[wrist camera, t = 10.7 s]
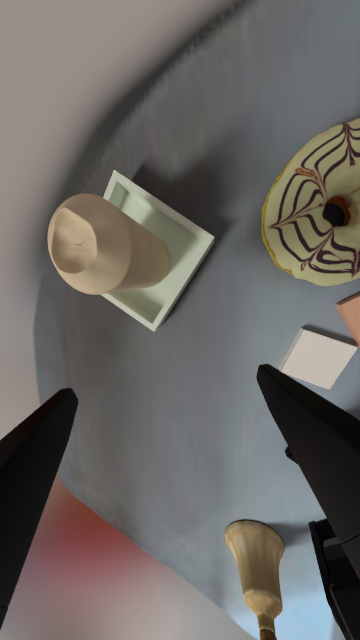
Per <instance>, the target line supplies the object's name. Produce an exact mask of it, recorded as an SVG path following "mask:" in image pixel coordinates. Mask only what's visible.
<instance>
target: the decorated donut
mask: <svg viewBox="0 0 360 640" xmlns="http://www.w3.org/2000/svg"><path fill="white" fill-rule="evenodd" d="M331 202H332V203H335V204H336V205H338V206H339V207H341V208H342V210H343V212H344V215H345V221H344V223H343V225H342V226H341V227H339V226H336V227H333V226H332V225H331V224H330V223H329V222H328V221H327V220H325V219H324V218H323V217H322V213H323V210H324V207H325V204H326V203H329V204H330V203H331ZM261 234H262V239H263V242H264V244H265V246H266V248H267V250H268V252H269V254H270V256H271V258H272V260H273V262H274V264H275V265H276V266H277V267H279V268H280V269H281V270H283V271H286V272H288V273H289V274H291V275H293V276H294V277H295V278H297V279H304V280H307V281H309V282H312V283H314V284H316V285H319V286H333V285H339V284H342V283H345V282H349V281H352V280H355V279H357V278H360V118H357V119H355V120H354V121H350V122H347V123H343V124H339V125H336V126H334V127H331V128H330V129H327V130H326V131H324V132H321V133H319V134H317V135H316V136H315V137H314V138H312V139H311V140H310V141H309V142H308V143H307V144H306V145H305V146H303V147H302V148H301V149H300V150H299V151H298V152H297V153H296V154H295V155H294V156H293V158H292V159H291V160H290V161H289V162H288V163H287V165H286V166H285V168H284V169H283V170H282V172H281V173H280V174H279V176H278V177H277V179H276V180H275V182H274V183H273V185H272V187H271V189H270V191H269V193H268V195H267V196H266V199H265V202H264V205H263V208H262V226H261Z"/></svg>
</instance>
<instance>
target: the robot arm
mask: <svg viewBox="0 0 360 640" xmlns="http://www.w3.org/2000/svg"><path fill="white" fill-rule="evenodd" d="M257 382H258V384H259V386H260V389H261V391H262V394H263V396H264V398H265V401H266V403H267V406H268V408H269V410H270V412H271V414H272V416H273V418H274V420H275V422H276V424H277V426H278V427H279V429H280V431H281V433H282V435H283V437H284V439H285V440H286V442H287V444H288V446H289V447H288V448H287V449H286V450H285V453H286V456H287V457H288V458H289V459H291V460H292V461H294V462H295V463H297V464H298V465H299V467H300V468H301V470H302V472H303V474H304V476H305V478H306V480H307V482H308V483H309V485H310V487H311V489H312V491H313V493H314V495H315V496H316V498H317V500H318V502H319V504H320V506H321V508H322V509H323V511H324V513H325V515H326V517H327V518H326V519H323V520H320V521H317V522H315V521H312V522H309V527H310V531H311V537H312V541H313V545H314V549H315V553H316V557H317V561H318V566H319V570H320V574H321V578H322V582H323V586H324V590H325V594H326V598H327V601H328V604H329V606H330V608H331V610H332V614H333V616H334V619H335V621H336V623H337V624H338V625H339V627H340V629H341V631H342V633H343V635H344V637H345V639H346V640H360V420H358V419H357V418H355V417H354V416H352V415H350V414H349V413H347V412H346V411H344V410H342V409H341V408H339V407H337V406H336V405H334V404H333V403H331V402H329V401H328V400H326V399H324V398H323V397H321V396H320V395H318V394H316V393H315V392H313V391H312V390H310V389H308V388H307V387H305V386H303V385H302V384H300V383H299V382H297V381H295V380H294V379H292V378H290V377H289V376H287V375H286V374H284V373H282V372H281V371H279V370H277V369H276V368H274V367H273V366H271V365H269V364H262V365H259V368H258V372H257ZM77 406H78V398H77V396H76V395H75V393H74V391H73V389H72V388H65V389H61V390H59V391H58V392H57V393H56V394H55V395H53V396H52V397H51V398H50V399H49V400H47V401H46V402H45V403H44V404H43V405H41V406H40V407H39V408H38V409H37V410H36V411H34V412H33V413H32V414H31V415H30V416H28V418H26V419H25V420H24V421H23V422H21V423H20V424H19V425H18V426H17V427H15V428H14V429H13V430H12V431H11V432H10V433H8V434H7V435H6V436H5V437H4V438H3V439H1V440H0V630H1V627H2V624H3V621H4V618H5V616H6V613H7V610H8V605H9V604H10V601H11V599H12V596H13V593H14V590H15V587H16V585H17V582H18V579H19V576H20V574H21V571H22V568H23V565H24V562H25V560H26V557H27V554H28V551H29V549H30V546H31V543H32V540H33V537H34V535H35V532H36V529H37V526H38V523H39V521H40V518H41V515H42V512H43V510H44V507H45V504H46V501H47V498H48V496H49V493H50V490H51V487H52V485H53V482H54V479H55V476H56V474H57V471H58V468H59V465H60V463H61V460H62V457H63V454H64V452H65V449H66V446H67V443H68V440H69V437H70V433H71V429H72V425H73V422H74V418H75V414H76V410H77Z"/></svg>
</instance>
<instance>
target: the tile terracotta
mask: <svg viewBox="0 0 360 640" xmlns="http://www.w3.org/2000/svg"><path fill="white" fill-rule="evenodd" d="M336 306H337V308H338V310H339V312H340V314H341V316H342V318H343V320H344V321H345V323H346V325H347V327H348V329H349V331H350V333H351V335H352V337H353V338H354V340H355V342H356V344H357V346H358V347H359V348H360V293H358V294H356V295H354V296H351V297H349V298H347V299H345V300H343V301H341V302H339V303H337V304H336Z"/></svg>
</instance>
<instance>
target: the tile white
mask: <svg viewBox="0 0 360 640" xmlns="http://www.w3.org/2000/svg"><path fill="white" fill-rule="evenodd" d="M357 348H358V347H356V346H354V345H351V344H348V343H345V342H342V341H339V340H336V339H333V338H330V337H327V336H324V335H321V334H318V333H315V332H312V331H309V330H306V329H303V328H300V330H299V332H298V334H297V336H296V338H295V339H294V341H293V343H292V345H291V347H290V349H289V350H288V352H287V354H286V356H285V358H284V359H283V361H282V363H281V365H280V367H279V370H280V371H281V372H282V373H285V374H288V375H291V376H293V377H296V378H299V379H302V380H304V381H307V382H310V383H312V384H315V385H318V386H321V387H323V388H326V389H329V390H330V388H331V387H332V385H333V384H334V382H335V381H336V379H337V378H338V376H339V375H340V373H341V372H342V370H343V369H344V368H345V366H346V365H347V363H348V362H349V360H350V359H351V357H352V356H353V354H354V353H355V351H356V350H357Z"/></svg>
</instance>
